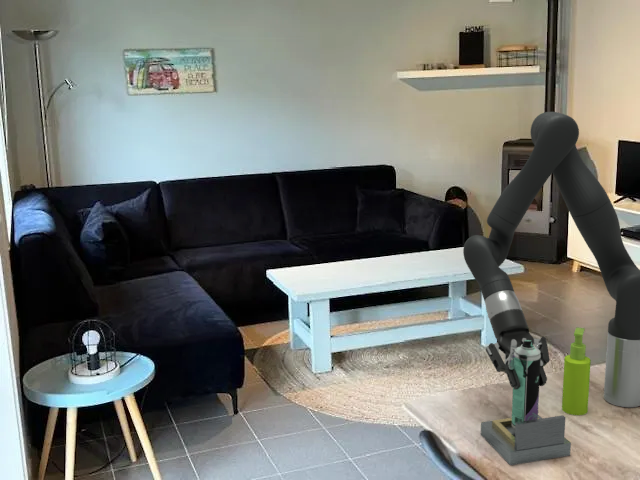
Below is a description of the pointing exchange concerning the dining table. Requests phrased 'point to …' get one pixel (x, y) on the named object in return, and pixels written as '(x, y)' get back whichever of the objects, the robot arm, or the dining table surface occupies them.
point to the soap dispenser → (576, 377)
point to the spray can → (526, 383)
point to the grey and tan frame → (527, 439)
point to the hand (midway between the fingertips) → (530, 386)
